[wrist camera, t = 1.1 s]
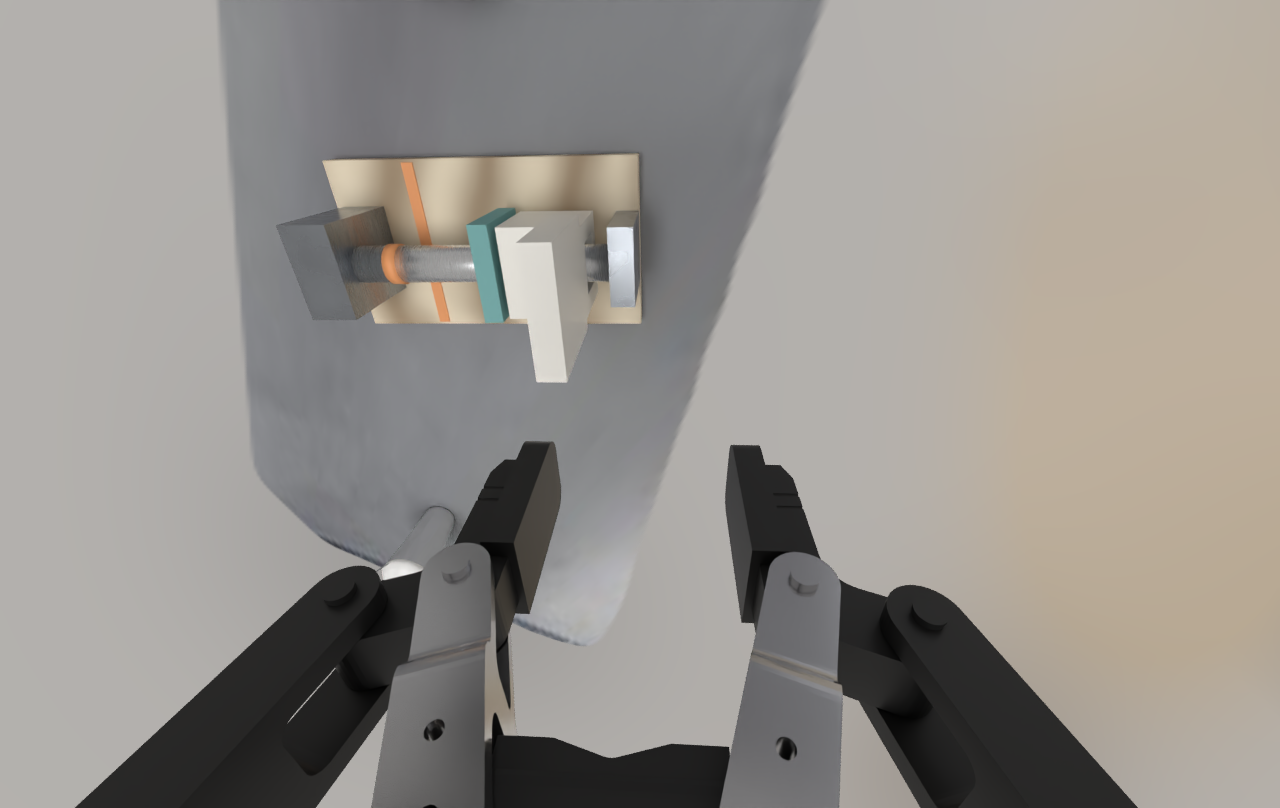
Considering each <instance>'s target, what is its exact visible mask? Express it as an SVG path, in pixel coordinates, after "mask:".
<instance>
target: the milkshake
mask: <svg viewBox="0 0 1280 808" xmlns="http://www.w3.org/2000/svg"><path fill="white" fill-rule="evenodd" d="M454 523H455V521H454V515H453V514H452V513H451V512H450V511H449V510H447V509H444V508H442V507H431V508H429V509H428V511H427V512H426V513H425V514H424V515H423V516H422V518H421V519H420V521H419V522H418V523H417V525H416V526H415V527H414V529H413V530H412V531H411V533H410V534H409V535H408V537H407V538H406V539H405V541H404V542H403V543H402V545H401V546H400V547H399V548H398V549H397V550H396V552H395V553H394V554H393V555H392V557H391V558H390V559H389V560H388V562H387V563H386V564H385V565H384V566H383V567H381V568H380V569H382V568H383V569H382V577H383V580H387V579H391V578H395V577H399V576H404V575H408V574H412V573H416V572H419V571H422V570H423V568H424V566H425V565H426V563H427V562H428V561H429V560H430V558H431V557H433V556H434V555H435V554H436V553H438V552H439V551H441V550H442V549H444V547H445V544H446V542H447V540H448V537H449V535H450V533H451V530H452V528H453V526H454ZM380 569H378V570H377V571H379V570H380ZM377 571H376V572H377Z"/></svg>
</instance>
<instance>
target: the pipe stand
mask: <svg viewBox="0 0 1280 808" xmlns="http://www.w3.org/2000/svg"><path fill="white" fill-rule="evenodd" d="M323 164H324V167H325V170H326V173H327V176H328V179H329V183H330V186H331V189H332V192H333V195H334V198H335V201H336V204H337V207H338V209H334V210H330V211H327V212H323V213H320V214H316V215H312V216H309V217H305V218H301V219H298V220H294V221H290V222H287V223H283V224H279V225H276V227H277V230H278V232H279V235H280V237H281V240H282V242H283V245H284V247H285V250H286V253H287V255H288V258H289V260H290V263H291V265H292V268H293V270H294V273H295V275H296V278H297V280H298V283H299V285H300V288H301V290H302V293H303V295H304V298H305V300H306V303H307V305H308V308H309V311H310V313H311V316H312V318H313V320H357V319H359V318H360V317H362V316H363V315H365V314H366V313H368V312H370V311H372V314H373V317H374V320H375V323H485V319H484V314H483V309H482V304H481V299H480V294H479V289H478V284H477V279H476V274H475V269H474V264H473V259H472V254H471V249H470V244H469V239H468V234H467V229H466V225H467V224H469V223H471V222H472V221H474V220H476V219H478V218H480V217H482V216H484V215H486V214H488V213H490V212H491V211H493V210H495V209H497V208H515V211H516V214H517V213H519V212H520V211H591V210H593V217H594V232H595V244H585V257H586V270H587V282H598V294H597V296H596V299H595V301H594V303H593V306H592V308H591V311H590V313H589V315H588V318H587V324H641V320H642V291H641V239H640V186H639V153H626V154H575V155H523V156H471V157H419V158H367V159H332V160H324V161H323ZM488 324H528V321H527V319H510V316H509V317H508V318H507V319H506V321H505V322H504V323H488Z"/></svg>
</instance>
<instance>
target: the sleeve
mask: <svg viewBox="0 0 1280 808" xmlns="http://www.w3.org/2000/svg"><path fill="white" fill-rule="evenodd" d="M495 233H496V239H497V245H498V251H499V257H500V262H501V268H502V274H503V280H504V286H505V292H506V298H507V304H508V309H509V315H510V319H527V321H528V328H529V334H530V341H531V348H532V354H533V361H534V368H535V374H536V381H537V382H568V379H569V377H570V374H571V372H572V369H573V366H574V364H575V361H576V359H577V356H578V354H579V351H580V348H581V346H582V343H583V341H584V338H585V335H586V333H587V330H588V324H587V318H588V315H589V313H590V311H591V308H592V306H593V303H594V301H595V299H596V296H597V294H598V282H587V270H586V257H585V244H595V232H594V217H593V210H591V211H520V212H519V213H517V214H516V215H514V216H512V217H511V218H509V219H508V220H506V221H504V222H503V223H501V224H500V225H498V226H496V227H495Z"/></svg>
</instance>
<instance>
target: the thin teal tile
mask: <svg viewBox="0 0 1280 808" xmlns="http://www.w3.org/2000/svg"><path fill="white" fill-rule="evenodd" d="M514 215H516V211H515V208H497V209H495V210H493V211H491V212H490V213H488V214H486V215H484V216H482V217H480V218H478V219H476V220H474V221H472V222H471V223H469V224H467V225H466V229H467V234H468V239H469V244H470V249H471V254H472V259H473V264H474V269H475V274H476V279H477V284H478V289H479V294H480V299H481V304H482V309H483V314H484V319H485V323H504V322H505V321H506V319H507V318H508V317H509V316H510V315H509V309H508V304H507V298H506V292H505V286H504V280H503V274H502V268H501V262H500V257H499V251H498V245H497V239H496V233H495V227H496V226H498V225H500V224H501V223H503V222H504V221H506V220H508V219H509V218H511V217H512V216H514Z"/></svg>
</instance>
